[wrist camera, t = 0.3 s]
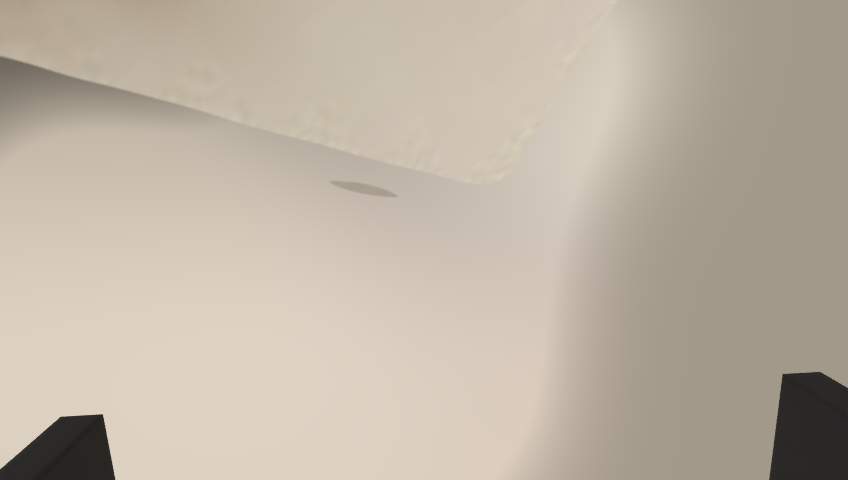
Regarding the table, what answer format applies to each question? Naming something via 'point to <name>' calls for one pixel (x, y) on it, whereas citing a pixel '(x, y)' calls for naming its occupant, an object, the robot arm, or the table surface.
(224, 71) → the table surface
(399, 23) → the table surface
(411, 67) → the table surface
